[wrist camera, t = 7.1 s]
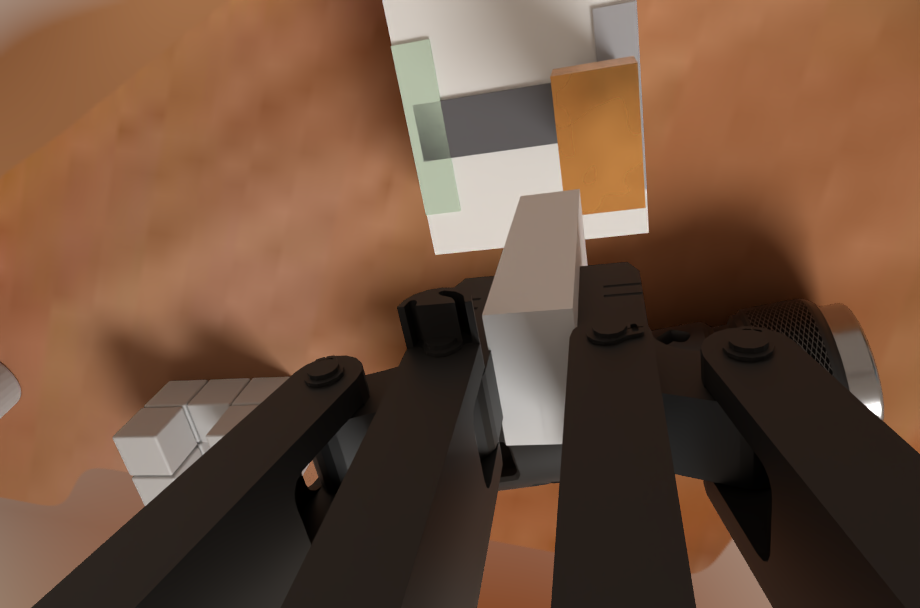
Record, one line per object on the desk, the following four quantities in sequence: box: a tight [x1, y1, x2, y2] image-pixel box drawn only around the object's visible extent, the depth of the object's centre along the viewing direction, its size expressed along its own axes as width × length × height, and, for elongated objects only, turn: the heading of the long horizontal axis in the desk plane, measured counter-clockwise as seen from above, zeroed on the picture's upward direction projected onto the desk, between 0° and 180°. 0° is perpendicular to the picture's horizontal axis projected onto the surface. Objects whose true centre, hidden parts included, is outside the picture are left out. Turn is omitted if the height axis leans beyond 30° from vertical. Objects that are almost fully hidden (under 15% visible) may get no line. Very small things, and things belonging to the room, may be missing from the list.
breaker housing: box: [382, 0, 649, 255], centre depth 36 cm, size 12×14×8 cm
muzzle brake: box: [498, 299, 884, 491], centre depth 43 cm, size 10×28×10 cm, turn 108°
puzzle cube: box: [113, 377, 309, 506], centre depth 54 cm, size 12×12×8 cm
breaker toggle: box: [550, 56, 646, 215], centre depth 28 cm, size 3×6×8 cm, turn 11°
